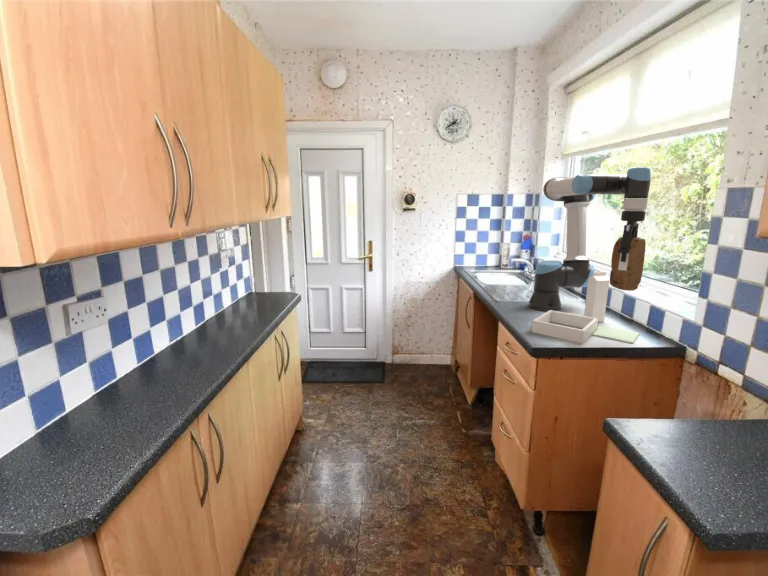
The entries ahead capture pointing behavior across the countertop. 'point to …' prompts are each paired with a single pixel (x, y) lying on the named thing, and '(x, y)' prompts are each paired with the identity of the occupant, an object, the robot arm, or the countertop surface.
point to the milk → (597, 296)
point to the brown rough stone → (634, 268)
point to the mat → (616, 334)
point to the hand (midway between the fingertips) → (625, 268)
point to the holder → (564, 332)
